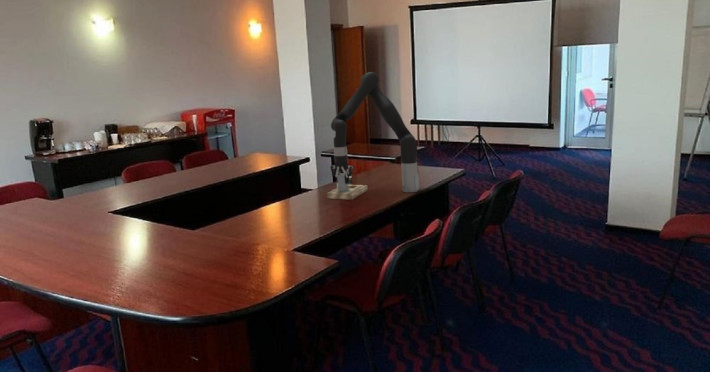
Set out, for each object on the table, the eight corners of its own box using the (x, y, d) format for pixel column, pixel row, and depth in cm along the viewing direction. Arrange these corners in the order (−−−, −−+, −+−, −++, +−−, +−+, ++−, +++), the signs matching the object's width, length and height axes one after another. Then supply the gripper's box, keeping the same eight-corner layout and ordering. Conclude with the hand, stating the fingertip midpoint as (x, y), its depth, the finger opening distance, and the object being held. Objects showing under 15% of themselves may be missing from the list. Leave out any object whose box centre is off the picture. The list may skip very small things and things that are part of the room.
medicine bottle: (345, 190, 347) (344, 171, 344) (336, 189, 351) (335, 170, 348) (352, 187, 352) (351, 168, 350) (344, 186, 357) (342, 168, 354)
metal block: (348, 190, 328) (347, 173, 326) (345, 192, 324) (344, 174, 322) (341, 189, 330) (340, 173, 328) (338, 191, 326) (337, 174, 324)
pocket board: (367, 191, 339) (367, 184, 338) (352, 201, 320) (352, 193, 319) (343, 190, 346) (343, 184, 345) (327, 199, 326) (326, 192, 325)
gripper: (354, 153, 322) (356, 182, 326) (332, 153, 328) (334, 181, 332) (349, 155, 316) (351, 185, 319) (326, 155, 322) (329, 184, 325)
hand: (342, 183), depth 326 cm, fingers open, 5 cm apart
